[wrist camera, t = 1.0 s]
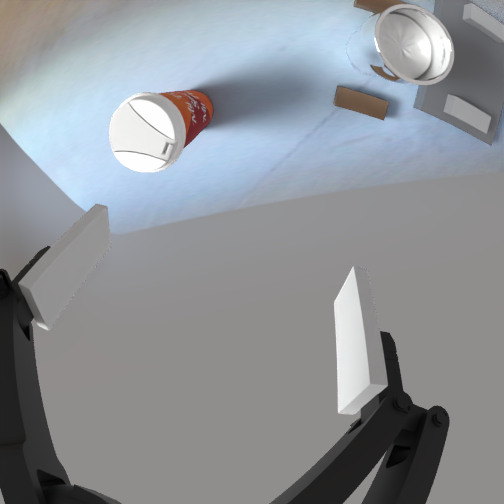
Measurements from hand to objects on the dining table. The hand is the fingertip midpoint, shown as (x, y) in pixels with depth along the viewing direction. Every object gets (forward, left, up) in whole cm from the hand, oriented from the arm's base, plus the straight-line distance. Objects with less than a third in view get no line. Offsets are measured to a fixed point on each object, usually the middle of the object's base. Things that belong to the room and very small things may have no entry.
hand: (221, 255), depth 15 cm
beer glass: (-14, +10, -25) cm, 30 cm away
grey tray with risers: (-18, +23, -25) cm, 38 cm away
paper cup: (-2, -10, -25) cm, 27 cm away
